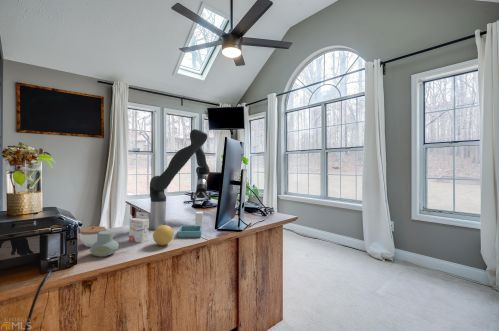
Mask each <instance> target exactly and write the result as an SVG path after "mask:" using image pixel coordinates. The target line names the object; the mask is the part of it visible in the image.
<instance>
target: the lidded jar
mask: <svg viewBox="0 0 499 331" xmlns="http://www.w3.org/2000/svg"><path fill="white" fill-rule="evenodd" d="M106 230H107V229H106V226H101V225H99V226H95V225H92V226H88V227H84V228H81V229H80V230H79V238H80V242H81V244H83V245H84V246H85V247H87V248H89V247H90V248H91V246H92V245H93V244H94V243H96V242H97V236H98V233H99V232H101V231H106Z"/></svg>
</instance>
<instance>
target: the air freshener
mask: <svg viewBox="0 0 499 331" xmlns="http://www.w3.org/2000/svg"><path fill="white" fill-rule="evenodd" d="M113 238H114V231H112V230H111V229H110V230H108V229H106V231H101V232H99V233H98V236H97V242H96V243H94V244H93V245H92V246H91V247H90V249H89V252H90V253H91V254H92V255H93V256H95V257H99V258H104V257H108V256H111V255H113V254H114V253H116V252H117V251H118V250H119V247H120V245H119V242H118V241H117V240H115V239H113Z"/></svg>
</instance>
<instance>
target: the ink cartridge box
mask: <svg viewBox="0 0 499 331" xmlns="http://www.w3.org/2000/svg"><path fill="white" fill-rule="evenodd" d="M135 212H136V213H135V214H136V215H135V217H132V218H130V219H129V232H128V233H129V236H128V242H135V243H140V244H143V243H145V242H147V241H148V240H149V214H150V213H148V212H140V211H135Z"/></svg>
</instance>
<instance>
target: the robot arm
mask: <svg viewBox="0 0 499 331" xmlns="http://www.w3.org/2000/svg"><path fill="white" fill-rule="evenodd" d="M189 139H190V142H191V144H189V145H188V146H185V147H183V148H181V149H179V150H178V151H176V152H175V154H174V155H173V156H172V158H171V159H170V161H169V163H168V165H167V167H166V168H165V170H164V171H163V172H162V173H161V174H160V175H155V176H153V177H152V178H150V182H149V197H150V209H149V210H150V211H149V212H150V213H148V214H149V228H148V230H155V229H156V228H157V227H159V226H161V225H166V211H167V210H166V209H167V196H166V194H165V190H166V189H167V188H168V187H169V185H170V184H171V183H172V181H173V180H174V178H175V176H176V175H178V173H179V172H180V171H181V170H182V168H184V166H185V165H186V164H187V163H188V162H189V160H190V159H191V158H192V156H194V154H195V159H196V164H197V167H196V169H195V172H196V176H197V181H196V189H195V192H194V191H191V194H190V200H191V201H192V204H193V206H195V205H196V200H197V199H204V200H205V206H207V205H208V204H209V201H212V199H211V198H212V192H211V191H207V189H208V183H207V180H208V176H207V175H209V174H210V167H209V165H208V164H207V158H206V154H205V152H204V150H203V148H202V146H203V145H204V144H205V143H206V142H207V140H208V134H207V133H206V131H202V130H200V129H195V128H194V129H192V130H191V131H190V134H189Z"/></svg>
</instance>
